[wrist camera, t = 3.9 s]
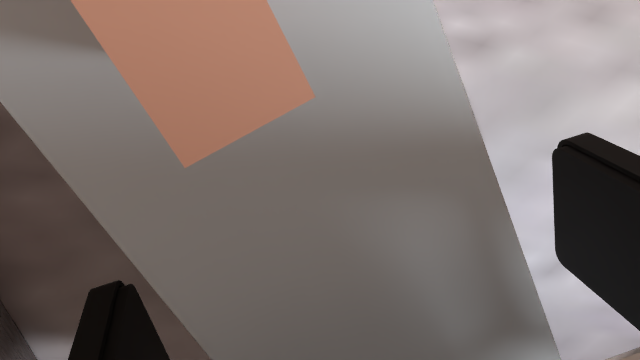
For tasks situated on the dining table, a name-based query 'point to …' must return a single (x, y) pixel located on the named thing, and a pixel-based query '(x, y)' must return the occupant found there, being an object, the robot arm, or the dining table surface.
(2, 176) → the dining table surface
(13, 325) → the cradle
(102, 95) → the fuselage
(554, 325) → the dining table surface
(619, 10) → the dining table surface
